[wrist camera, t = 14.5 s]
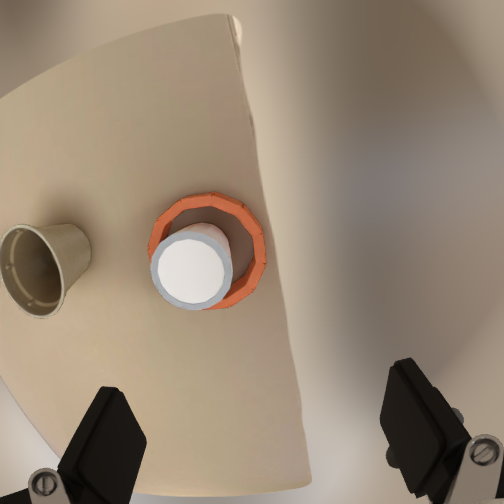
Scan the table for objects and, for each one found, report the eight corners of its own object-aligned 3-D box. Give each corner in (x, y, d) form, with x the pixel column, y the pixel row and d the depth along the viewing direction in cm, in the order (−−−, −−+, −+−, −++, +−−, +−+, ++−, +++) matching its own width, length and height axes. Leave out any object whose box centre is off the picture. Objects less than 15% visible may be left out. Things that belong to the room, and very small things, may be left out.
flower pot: (31, 244, 30) (-13, 266, 22) (68, 191, 28) (20, 203, 20) (76, 300, 32) (39, 334, 24) (118, 253, 31) (80, 283, 22)
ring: (256, 186, 29) (257, 188, 26) (269, 290, 32) (270, 303, 29) (149, 202, 29) (138, 206, 26) (169, 301, 32) (162, 313, 29)
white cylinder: (183, 205, 29) (164, 218, 23) (246, 231, 30) (246, 250, 23) (162, 266, 31) (141, 292, 24) (222, 290, 32) (215, 322, 25)
